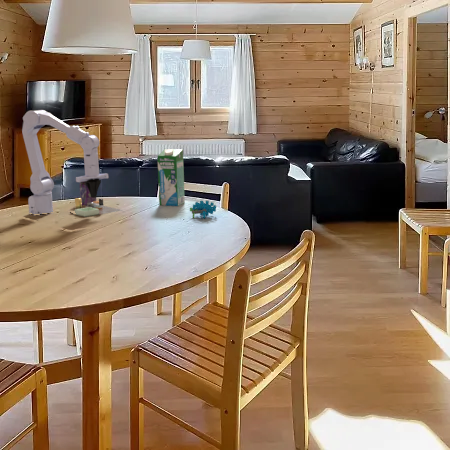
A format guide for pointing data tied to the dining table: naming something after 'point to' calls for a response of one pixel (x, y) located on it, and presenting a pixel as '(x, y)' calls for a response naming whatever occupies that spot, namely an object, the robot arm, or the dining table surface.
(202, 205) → the gear
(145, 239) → the dining table surface
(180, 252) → the dining table surface
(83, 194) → the beverage can
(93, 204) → the crank
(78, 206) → the brass pin
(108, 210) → the base plate
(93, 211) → the tray
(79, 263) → the dining table surface
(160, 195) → the milk carton
